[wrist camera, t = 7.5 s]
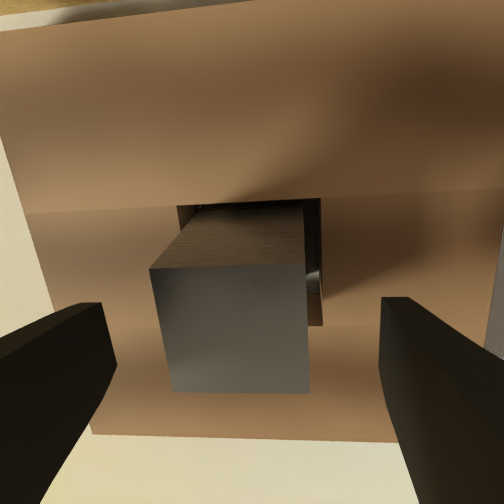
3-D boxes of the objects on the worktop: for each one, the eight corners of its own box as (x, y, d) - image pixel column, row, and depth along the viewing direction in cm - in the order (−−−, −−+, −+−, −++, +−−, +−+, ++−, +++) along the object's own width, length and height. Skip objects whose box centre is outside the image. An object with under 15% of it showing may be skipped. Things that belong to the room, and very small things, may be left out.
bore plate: (445, 399, 18) (467, 444, 15) (116, 395, 20) (92, 434, 18) (497, -11, 12) (546, -36, 10) (23, 45, 14) (-31, 35, 12)
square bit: (305, 275, 16) (310, 393, 10) (221, 277, 17) (173, 392, 10) (302, 191, 15) (305, 263, 8) (211, 196, 15) (148, 268, 9)
